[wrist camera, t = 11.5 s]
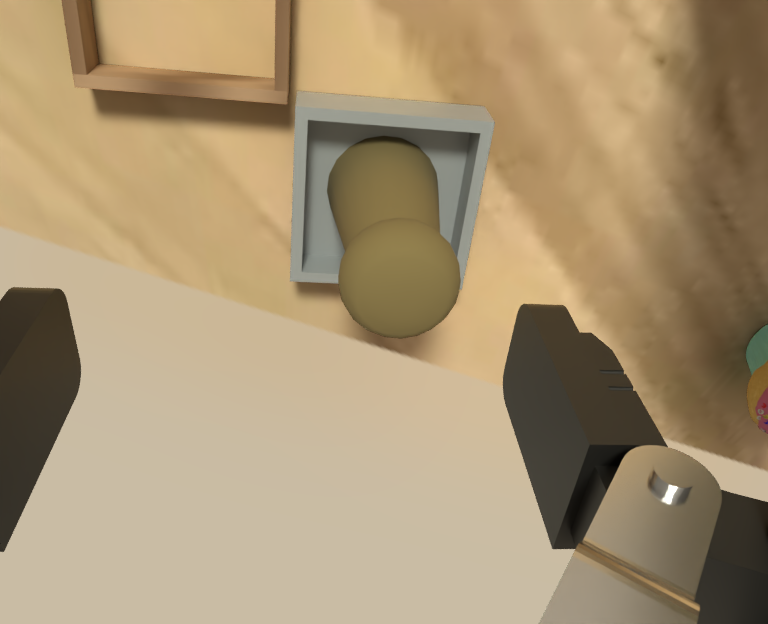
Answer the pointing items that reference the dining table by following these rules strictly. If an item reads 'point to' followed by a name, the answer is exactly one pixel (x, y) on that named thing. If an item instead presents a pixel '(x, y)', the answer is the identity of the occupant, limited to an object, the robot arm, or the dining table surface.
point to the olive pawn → (392, 238)
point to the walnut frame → (173, 81)
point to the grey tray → (372, 119)
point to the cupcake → (758, 378)
